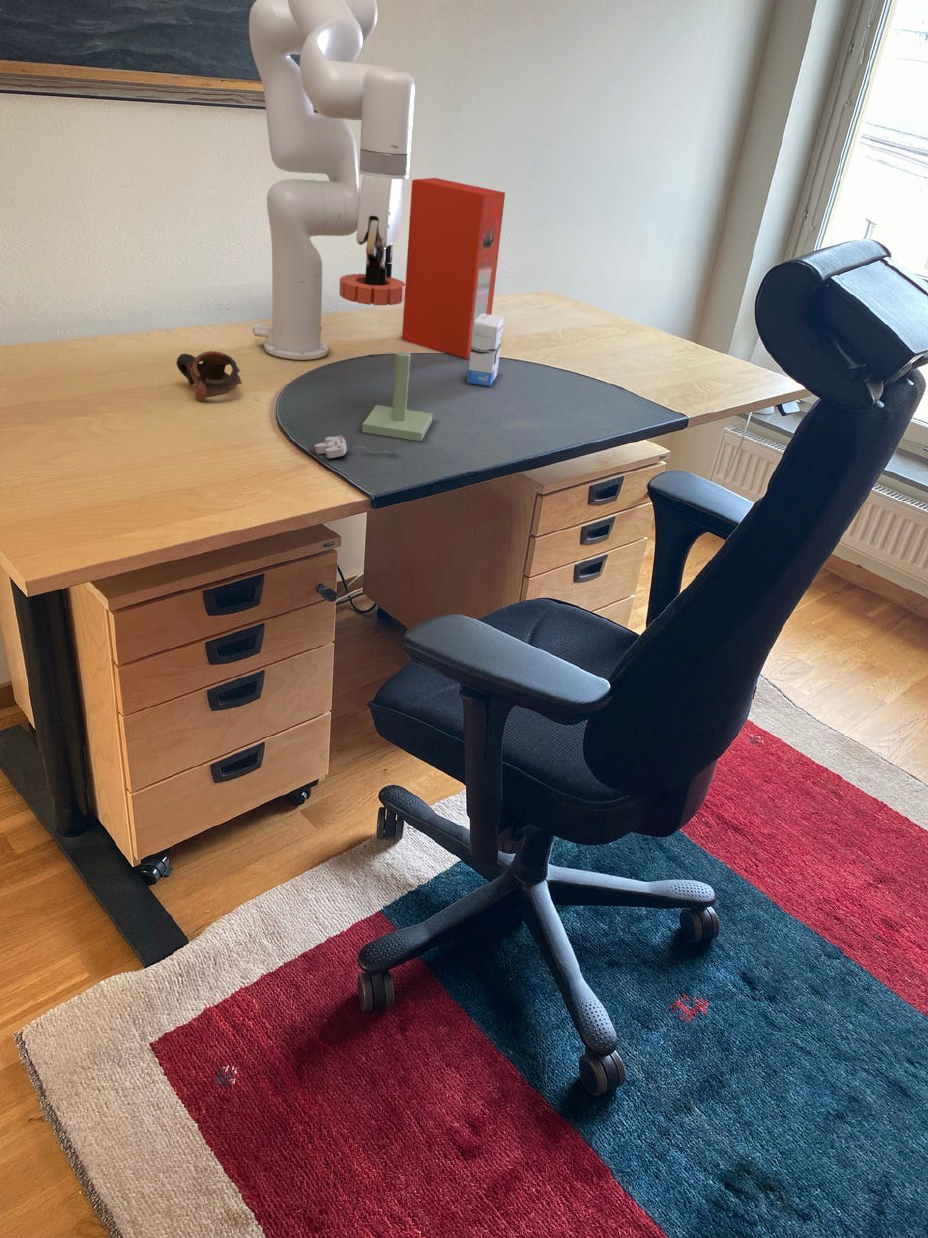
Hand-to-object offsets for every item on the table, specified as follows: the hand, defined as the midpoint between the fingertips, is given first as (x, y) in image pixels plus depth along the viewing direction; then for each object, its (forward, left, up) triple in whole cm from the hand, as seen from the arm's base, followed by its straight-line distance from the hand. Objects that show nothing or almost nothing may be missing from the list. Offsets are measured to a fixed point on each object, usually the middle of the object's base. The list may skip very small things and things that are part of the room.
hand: (377, 289), depth 151 cm
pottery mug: (-29, 0, -22) cm, 36 cm away
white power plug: (+1, -18, -22) cm, 28 cm away
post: (+5, -2, -21) cm, 22 cm away
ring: (0, -4, 0) cm, 4 cm away
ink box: (+15, +31, -22) cm, 40 cm away
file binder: (+4, +50, -22) cm, 54 cm away
